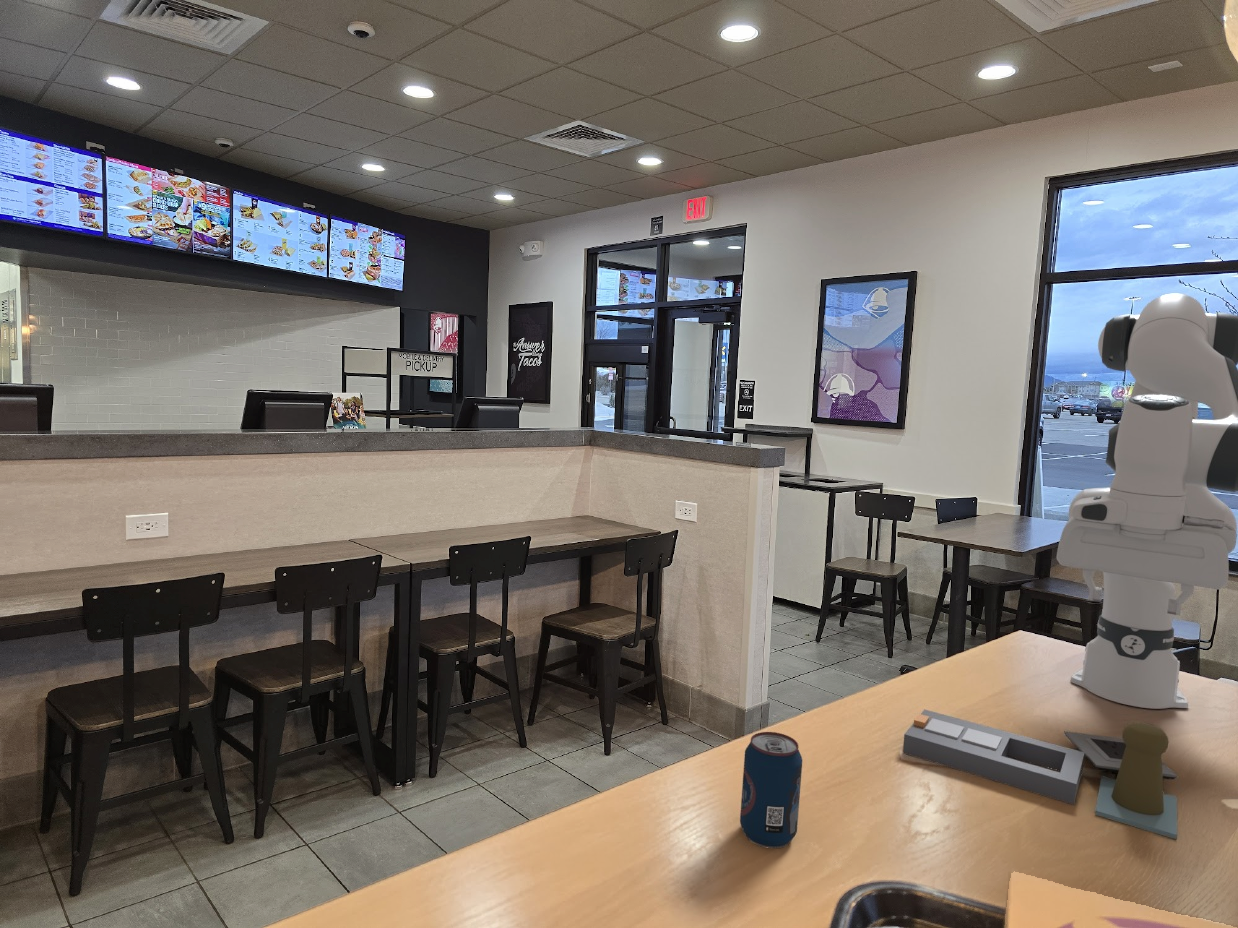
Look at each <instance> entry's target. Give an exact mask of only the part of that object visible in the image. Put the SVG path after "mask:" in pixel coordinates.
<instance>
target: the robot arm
mask: <svg viewBox="0 0 1238 928" xmlns="http://www.w3.org/2000/svg"><path fill="white" fill-rule="evenodd" d="M1097 347H1098V348H1097V349H1098V353H1099V356H1100V359H1101V362H1102V364H1103V365H1104V366H1105V367H1106V368H1107V369H1110V370H1114V371H1117V372H1126V371H1129V372H1130V374H1131V376H1132V377H1133V379H1134V384H1133V386H1132V390H1131V392H1130V397H1129V399H1127V400H1126V402H1125V404H1124V408H1123V411H1122V414H1121V418H1120V421H1119V422H1118V423H1117V424H1115V425H1114V426H1113V427H1111V428H1109V430H1108V444H1107V451H1106V452H1107V453H1106V459H1105V463H1106V464H1107V465H1108V467H1110V468H1111V469H1112V470H1113V471H1114V472H1115V473H1114V476H1113V478H1112V481H1111V483H1110V486H1109V487H1094V488H1093V487H1092V488H1084V489H1082V490H1081V491H1079V492H1078V493H1077V494H1076V495H1075V496H1074V498H1073V499H1072V500H1071V502H1070V505H1069V508H1068V521H1066V524H1065V525H1064V527H1063V529H1062V532H1061V535H1060V539H1059V543H1058V546H1057V549H1056V551H1057V552H1056V560H1057V562H1058V563H1059V564H1060V566H1062V567H1068V568H1074V569H1082V578H1083V580H1084V582H1085V584H1086V585H1087V588H1088V589H1089V593H1088V600H1089V601H1093V602H1100V603H1101V600H1102V593H1103V603H1102V612H1101V614H1100V615H1099V616H1098V621H1097V625H1096V626H1097V630H1096V634H1097V636H1095V638H1094V639H1091V640H1090V641H1089V642H1087V643H1086V646H1085V649H1084V652H1085V654H1084V660H1083V668H1081V669H1080V670H1079V671H1077V672H1076V673H1074V674H1073V675H1071V676H1070V679H1069V682H1071V683H1073V684H1075V685H1077V686H1080V687H1082V688H1084V689H1086V690H1087V691H1089V692H1091V693H1092V694H1094V695H1096V696H1098V697H1101V698H1103V699H1105V700H1109V701H1111V702H1115V703H1118V704H1123V705H1128V706H1131V707H1135V708H1136V707H1138V708H1142V709H1143V708H1145V709H1157V710H1159V709H1162V710H1163V709H1169V708H1177V709H1178V708H1179V709H1188V708H1189V702H1188V699H1187V698H1186V697H1185V696H1184V694H1183V693H1182V691H1181V690H1180V689H1179V687H1178V686H1179V681H1180V679H1179V675H1180V667H1181V665H1180V664H1181V662H1180V660H1178V657H1176V656H1175V654H1174V653H1173V652H1172V648H1173V645H1174V640H1175V634H1174V633H1175V629H1174V628H1173V622H1174V621H1173V620H1174V619H1173V618H1174V616H1181V612H1182V610H1181V609H1182V605H1183V604H1184V603H1185V602H1186V601H1187V600H1188V599H1190V597H1192V595H1193V594H1194V590H1195V587H1198V588H1205V589H1213V590H1221V589H1223V588H1224V587H1226V586H1227V585H1228V583H1229V575H1230V574H1229V572H1230V569H1229V568H1230V567H1229V566H1230V563H1229V554H1231V553H1232V552H1233V551H1234V550H1235V548H1236V544H1237V536H1238V535H1237V531H1238V525H1237V519H1236V517H1235V515H1234V513H1233V511H1232V509H1231V508H1230V507H1229V506H1228V505H1227V504H1226V503H1225V502H1223V501H1222V500H1221V499H1219V498H1218V497H1217V496H1216V495H1214V493H1212V491H1211V490H1210V489H1213V490H1219V491H1224V492H1230V493H1235V492H1238V367H1237V365H1238V315H1236V314H1232V313H1226V312H1222V311H1221V312H1219V311H1217V312H1216V313H1210V312H1205V309H1204V307H1203V305H1202V304H1201V303H1200V302H1199V301H1198V300H1197V299H1195V298H1194V297H1192V296H1190V295H1187V294H1183V293H1168V294H1163V295H1160V296H1157V297H1156V298H1154V299H1152V300H1151V301H1150V302H1148V303H1147V304H1146V305H1145V306H1144V308H1143V309H1142V311H1141V312H1140V314H1132V313H1126V314H1122V315H1118V316H1114V317H1112V318H1111V319H1109V320H1108V321H1107V322H1106V323H1105V325H1104V328H1103V329H1102V330H1101V332H1100V335H1099V337H1098V344H1097ZM1200 403H1201V404H1203V405H1205V406H1207V407H1208V408H1209V409H1210V410H1211V413H1212V416H1213V419H1201V418H1198V415H1199V414H1198V413H1199V404H1200ZM1096 572H1102V575H1103V587H1099V586H1096V583H1095V582H1094V580H1093V578H1094V577H1095V574H1096ZM1174 584H1179V585H1180V591H1181V593H1180V594H1179V596H1177V590H1176V586H1175V585H1174ZM1176 597H1177V598H1176Z"/></svg>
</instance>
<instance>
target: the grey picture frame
mask: <svg viewBox="0 0 1238 928" xmlns="http://www.w3.org/2000/svg"><path fill="white" fill-rule="evenodd" d="M1063 734H1064V736H1065V737H1067V739H1069V741H1070V742H1071V743H1072V744H1073V745H1074V746H1075V747H1076V748H1077V749H1078V751H1081V752H1085V753H1084V758H1086V759H1087V760H1088V761H1089V762H1090V764H1092V766H1094V768H1095V769H1096V770H1098V771H1101V772H1108V773H1110V774H1111V775H1115V776H1117V775H1118V772H1119V768H1120V765H1121V762H1122V758H1123V755H1124V751H1125V748H1126V744H1125V743H1124V741H1123V737H1117V736H1116V737H1115V736H1106V735H1100V734H1099V735H1097V734H1091V733H1083V732H1074V731H1065V730H1064V731H1063ZM1162 773H1163V780H1174V779H1178V774H1177V773H1175V772H1174V771H1173V770H1172V769H1171V768H1169V767H1168V766H1167V765H1166V764H1165V763H1163V762H1162Z"/></svg>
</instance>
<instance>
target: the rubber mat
mask: <svg viewBox="0 0 1238 928" xmlns="http://www.w3.org/2000/svg"><path fill="white" fill-rule="evenodd" d="M1115 782H1116V779H1114V778H1110V777H1107V776H1103V775H1101V778H1100V784H1099V790H1098V794H1097V800H1096V806H1095V811H1094V815H1095V816H1099V817H1102V818H1105V819H1109V820H1111V821H1115V822H1117V823H1122V824H1125V825H1128V826H1131V827H1135V828H1138V829H1140V830H1144V831H1148V832H1150V833H1153V834H1154V833H1155V834H1157V835H1161V836H1164V837H1167V838H1171V839H1174V840H1177V839H1178V803H1177V802H1178V798H1177V796H1175V795H1171V794H1169V793H1164V792H1163V801H1164V811H1163V813H1162V814H1160V815H1146V814H1141V813H1137V812H1134V811H1131V810H1129V809H1126V808H1124V807H1122V806H1120V805H1119V804H1117V803H1116V802H1115V801H1114V800H1113V799H1112V797H1111V796H1112V792H1113V789H1114V786H1115Z"/></svg>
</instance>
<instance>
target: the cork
mask: <svg viewBox="0 0 1238 928" xmlns="http://www.w3.org/2000/svg"><path fill="white" fill-rule="evenodd" d="M1121 735H1122V738H1123V741H1124V743H1125V744H1126V748H1125V751H1124V755H1123V758H1122V762H1121V765H1120V768H1119V772H1118V775H1116V779H1115V780H1116V782H1115V786H1114V789H1113V792H1112V796H1111V797H1112V799H1113V800H1114V801H1115V802H1116V803H1117V804H1119V805H1120V806H1122V807H1124V808H1126V809H1129V810H1131V811H1134V812H1137V813H1141V814H1146V815H1160V814H1162V813H1163V811H1164V801H1163V793H1164V783H1163V782H1164V781H1163V780H1164V779H1163V773H1162V763H1163V754H1165V753H1166V752H1167V750H1168V747H1169V737H1168V735H1167V733H1166V732H1165V731H1164V730H1162V729H1161V728H1160V727H1158V726H1156V725H1153V724H1150V723H1146V722H1139V721H1133V722H1129V723H1127V724H1126V725H1125V726H1124V728H1123V730H1122V734H1121Z"/></svg>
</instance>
